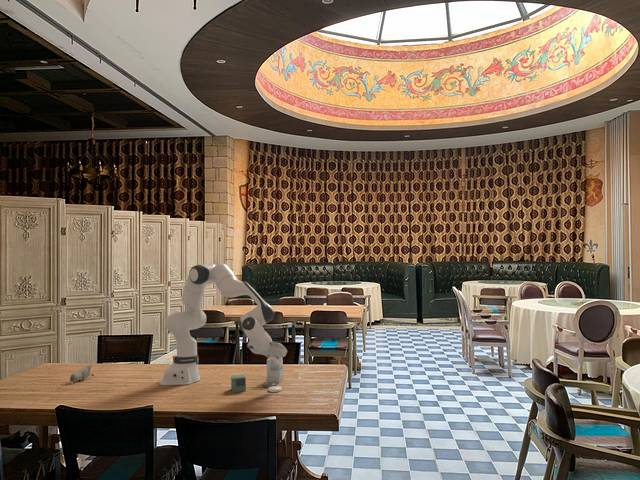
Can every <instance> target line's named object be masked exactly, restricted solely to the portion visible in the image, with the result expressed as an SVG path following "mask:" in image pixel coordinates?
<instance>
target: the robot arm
mask: <svg viewBox="0 0 640 480" xmlns="http://www.w3.org/2000/svg"><path fill="white" fill-rule="evenodd" d="M184 283H185V284H184V287H183V291H182V295H181V302H182V304H183V305H185V310H184V311H183V310H182V311H178V312H174V313H171V314H169V315H167V316H166V317H165V318H166V319H165V322H164V326H165V328H166V330H167V331H168V332H170V333H171V334H172V336H173V337H174V340H175V344H176V355H173V356H172V364H170V365H169V366H168V367H167V368H165V369H164V372H163V374H162V378H160V379H159V380H158V385H160V386H181V385H183V386H186V385H191V384H192V383H193V384H194V383H196V382H199V381H201V377H200V371H199V367H198V365H199V355H198V342H197V339H195V338H194V337H192V336H191V333H190V331H192V330H197V329H200V328H202V327H203V326H205V325H206V323H207V314H206V313H205V311H203V307H202V301H203V297H204V292H205V289H206V285H211V284H215V285H216V287H217V289H218V291H219V292H220V293H221V295H223V296H224V297H226V298H236V297H239V296H249V297H250V298H251V299H252V301H253V302H254V303H255V304H256V306H255V307H254V308H252V309H251V310H249V311H248V312H246V313H245V314H243V315H242V316H240V318H239V319H238V328H239V329H240V331H241V332H242V334H243V336H245V337H247V338H248V340H249V341H248V342H247V345H246V347H247V348H248V349H249V350H250V351H251V353H253V354H255V355H263V356H265V357H266V358H267V359H269V355H271V356H277V359H279V360H281V358H282V357H283V358H284V357H286V355H287V353H288V350H287V348H286V347H285V346H284V345H283V344H282V343H280V342H273V340H272V338H271V336H270V334H269V333H268V331H265V328H264V327H263V326H264V325H266V324H268V323H270V322H271V321H273V320H274V317H275V311H274V309H273V307H272V306H271V305H270V304H269V303H267V302H266V301H265V299H263V298H262V296H261V295H260V294H259V293H258V292H257V291H256V290H255V289H254V287H252V286H251V285H250V284H249V283H248V282H247V281H243V280H242V281H241V280H240V279H239V278H238V277H236V274H235V273H234V271H233V270H232V269H231V267H229V266H228V265H227V264H226V263H205V264H196V265H193V266H192V267H191V268H190V270H189V272H188V276H187V278H186V280H185V282H184Z"/></svg>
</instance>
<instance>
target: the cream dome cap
mask: <svg viewBox="0 0 640 480" xmlns="http://www.w3.org/2000/svg"><path fill="white" fill-rule="evenodd" d="M282 388H283V387H281V386H280V385H277V386H272V387H269V388H267V392H269V393H279V392H282V391H283V390H282Z"/></svg>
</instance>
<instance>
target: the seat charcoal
mask: <svg viewBox="0 0 640 480" xmlns="http://www.w3.org/2000/svg"><path fill="white" fill-rule="evenodd" d="M272 386H278V383H276V382H267V381H266V382H264V383H263V388H267V389H268V388H269V387H272Z"/></svg>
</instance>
